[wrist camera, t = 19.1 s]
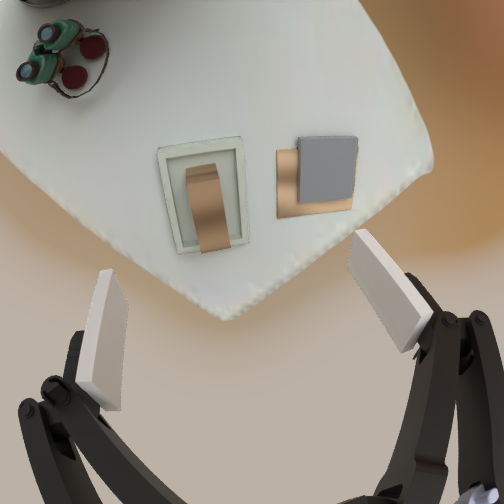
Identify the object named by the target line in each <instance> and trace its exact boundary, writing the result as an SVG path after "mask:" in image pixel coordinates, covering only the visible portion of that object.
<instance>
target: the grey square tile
mask: <svg viewBox="0 0 504 504" xmlns="http://www.w3.org/2000/svg"><path fill="white" fill-rule="evenodd" d="M357 148H358V138H357V137H355V136H314V137H298V183H297V201H298V202H299V204H302V203H311V202H319V201H328V200H338V199H347V198H352V194H353V186H354V177H355V168H356V158H357Z"/></svg>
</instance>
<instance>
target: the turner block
mask: <svg viewBox="0 0 504 504" xmlns="http://www.w3.org/2000/svg"><path fill="white" fill-rule="evenodd" d="M186 189H187V193H188V198H189V202H190V207H191V211H192V216H193V220H194V224H195V229H196V233H197V237H198V241H199V245H200V249H201V253H206V252H211V251H216V250H221V249H226V248H231V245H230V240H229V234H228V228H227V222H226V216H225V210H224V203H223V197H222V191H221V185H220V179H219V175H218V171H217V168H216V164H215V163H211V164H205V165H200V166H195V167H190V168H186Z"/></svg>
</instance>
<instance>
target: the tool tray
mask: <svg viewBox="0 0 504 504" xmlns="http://www.w3.org/2000/svg"><path fill="white" fill-rule="evenodd" d="M157 157H158V163H159V168H160V173H161V179H162V184H163V189H164V194H165V199H166V204H167V208H168V213H169V218H170V222H171V227H172V231H173V236H174V240H175V244H176V248H177V252H178V254H182V253H188V252H195V251H201V249H200V245H199V241H198V237H197V233H196V229H195V224H194V220H193V216H192V211H191V207H190V202H189V198H188V193H187V189H186V168H190V167H195V166H200V165H205V164H211V163H215V164H216V168H217V171H218V175H219V179H220V185H221V191H222V197H223V203H224V210H225V216H226V222H227V228H228V234H229V240H230V245H231V246H233V245H239V244H246V243H249V230H248V214H247V198H246V181H245V165H244V149H243V140H242V138H241V137H240V136H238V137H229V138H221V139H213V140H205V141H198V142H191V143H185V144H179V145H173V146H167V147H161V148H158V150H157Z"/></svg>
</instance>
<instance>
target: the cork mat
mask: <svg viewBox="0 0 504 504" xmlns="http://www.w3.org/2000/svg"><path fill="white" fill-rule="evenodd" d="M357 157H358V148H357ZM356 167H357V158H356ZM355 176H356V168H355ZM297 183H298V149H284V150H277V218H285V217H293V216H300V215H308V214H315V213H323V212H331V211H340V210H348V209H351V208H352V200H353V194H352V198H347V199H338V200H328V201H319V202H311V203H302V204H299V202H298V201H297ZM354 185H355V177H354ZM353 193H354V186H353Z"/></svg>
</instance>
